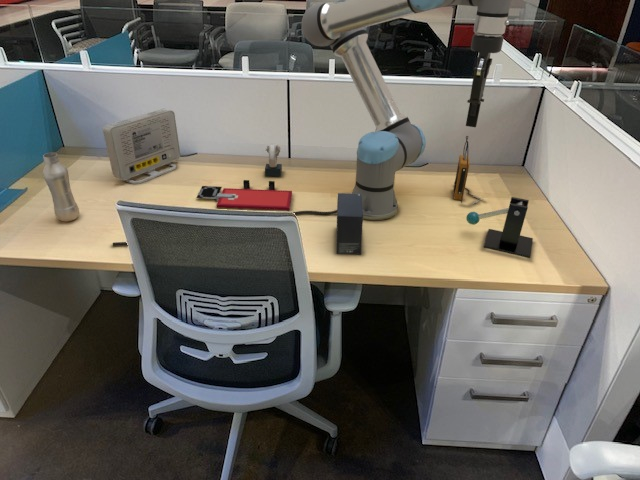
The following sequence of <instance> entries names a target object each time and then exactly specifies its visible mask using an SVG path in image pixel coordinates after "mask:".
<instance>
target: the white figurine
mask: <svg viewBox="0 0 640 480" xmlns="http://www.w3.org/2000/svg"><path fill="white" fill-rule="evenodd" d="M264 151H266V152H267V154H268V163H265V167H264V173H265V174H264V175H265V176H264V177H265V178H281V177H282V173H283V167H282V165H283V164H282V163H278V157H279V155H280V153H281V146H280V145H279V144H276V143H269V144H268V145H267V146H266V147H265V150H264Z"/></svg>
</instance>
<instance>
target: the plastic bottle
mask: <svg viewBox="0 0 640 480" xmlns="http://www.w3.org/2000/svg"><path fill="white" fill-rule="evenodd" d="M42 159H43V162H44V164H45V165H44V167H43V170H42V176H43V179H44V181H45V183H46V185H47V188H48V190H49V192H50V194H51V198H52V199H51V200H52V203H53V211H54V215H55V217H56V218H57V219H58V220H59V221H60V222H71V221H74V220H76V219H78V217H79V215H80V209H79V205H78V203H77V202H76V200H75V197H74V195H73V192H72V188H71V183H70V175H69V169H67V167H66V166H65V164H63V163H62V162H60V158H59V155H58V153H57V152H47V153H44V154H43V155H42Z"/></svg>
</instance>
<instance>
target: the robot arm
mask: <svg viewBox="0 0 640 480" xmlns="http://www.w3.org/2000/svg"><path fill="white" fill-rule="evenodd" d="M511 5H512V0H336V1H328V2H322V3H316V4H313V5H311V6H310V7H308V8H307V9H306V10H305V11H304V13H303V16H302V19H301V31H302V34H303V35H304V38H305V40H307V42H308V43H310V44H312V45H313V46H316V47H328V46H329V47H330V49H331V51H332V52H333V55H334V56H335V57H339V58H341V60H342V62H343V64H344V66H345V68H346V70H347V72H348V74H349V76H350V79H351V80H352V82H353V84H354V86H355V88H356V90H357V92H358V94H359V97H360V98H361V100H362V102H363V104H364V107H365V108H366V110H367V113H368V114H369V116H370V119H371V121H372V122H373V124H374V126H375V129H374V131H370V132H368V133H365V134H363V135H362V136H361V137H360V139H359V140H358V145H357V148H356V149H357V150H356V167H355V185H354V187H353V190H352V192H351V193H358V194H361V195H362V207H363V220H366V221H367V220H368V221H383V220H388V219H391V218H392V217H394V216H395V215H396V214H397V213H398V206H399V205H398V200H397V197H396V192H395V188H394V187H395V180H396V179H395V178H396V172H399V171H400V170H401V169H403V168H405V167H406V166H409V165H411V164H414V163H415V162H416V161H418V159H420V158H421V156H423V154H424V152H425V149H426V144H427V143H426V141H427V140H426V135H425V133H424V131H423V130H422V129H421V127H419V126H418V125H416V124H413V123H412V122H411V121H410V118H409V117H408V116H407V115H405V114H402V113H401V112H400V110H399V108H398V105H397V104H396V103H397V102H396V101H395V99H394V98H393V95H392V93H391V91H390V89H389V87H388V85H387V83H386V81H385V79H384V77H383V74H382V73H381V71H380V69H379V67H378V64H377V62H376V60H375V58H374V56H373V54H372V52H371V50H370V47H369V46H368V43H367V42H368V38H369V34H368V32H367V29H368V27H371V26H375V25H379V24H383V23H386V22H390V21H392V20H393V21H394V20H398V19H401V18H404V17H408V16H412V15H415V14H420V13H424V12H427V11H431V10H434V9H440V8H446V7H451V6H452V7H453V6H469V7H477V8H476V14H475V18H474V25H473V32H474V34H473V35H472V37H471V43H470V44H471V45H470V50H471V51H473V52H478V56H476V58H475V59H474V62H473V67H474V68H473V74H472V76H473V77H472V83H471V89H470V95H469V99H468V100H466V103H468V104H469V106H468V111H467V115H466V121H465V126H466V127H471V128H476V127H477V124H478V119H479V115H480V109H481V106H482V105H481V104H482V103H484V102H485V99H484V91H485V87H486V84H487V83H486V82H487V78H488V75H489V73H490V67H491V66H492V64H493V58H491V54H497V53H500V52H501V51H502V48H503V43H504V39H505V38H504V36H503V34H505V33H506V27H507V26H509V25H510V21H509V20H508V18H509V13H510V8H511ZM293 213H295V214H296V215H295V216H297V215H306V214H308V215H311V214H312V215H321V216H326V215H327V216H329V215H334V214H335V215H336V214H337V209H334V210H331V211H317V210H299V211H293ZM126 242H127V241H120V242H112V246H113V247H119V246H128V245H127V243H126Z"/></svg>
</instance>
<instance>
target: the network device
mask: <svg viewBox="0 0 640 480" xmlns="http://www.w3.org/2000/svg"><path fill="white" fill-rule="evenodd" d="M176 120H177V119H176V115H175V112H174V110H171V109H167V108H160V109H156V110H153V111H150V112H147V113H143V114H140V115H136V116H133V117H132V116H131V117H129V118H126V119H122V120H118V121H116V122H112V123H108V124H105V125H104V126H103V128H102V134H103V138H104V142H105V145H106V150H107V155H108V159H109V164H110V167H111V171H112V176H113V177H114V178H117V179H118V180H121V181H124V182H127V183H129V184H133V185H139V184H143V183H145V182H148V181H150V180H152V179H155V178H158V177H159V176H162V175H165V174H167V173H170V172H172V171H175V170H176V169H177V165H176V164H175V163H173V162H174V161H175V162H176V161H178V160H179V159H180V158H181V148H180V142H179V134H178V129H177V128H178V127H177V122H176ZM165 165H166V166H168V167H170V168H168V169H167V168H166V169H165V170H162V171H156V169H157V168H160V167H162V166H165ZM142 174H145V175H148V177H144V178H143V179H140V180H134V179H131V178H135V177H136V176H139V175H142Z"/></svg>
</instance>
